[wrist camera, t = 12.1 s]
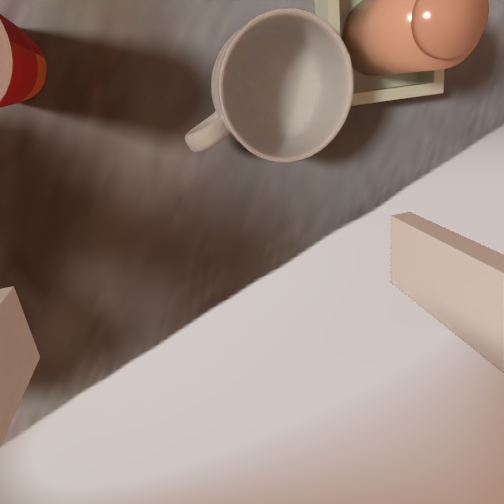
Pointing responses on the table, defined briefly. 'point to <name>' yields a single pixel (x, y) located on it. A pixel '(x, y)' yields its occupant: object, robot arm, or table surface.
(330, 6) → the divided tray
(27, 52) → the paper cup
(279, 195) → the table surface
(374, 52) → the pink rounded cylinder
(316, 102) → the teacup
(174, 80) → the table surface
